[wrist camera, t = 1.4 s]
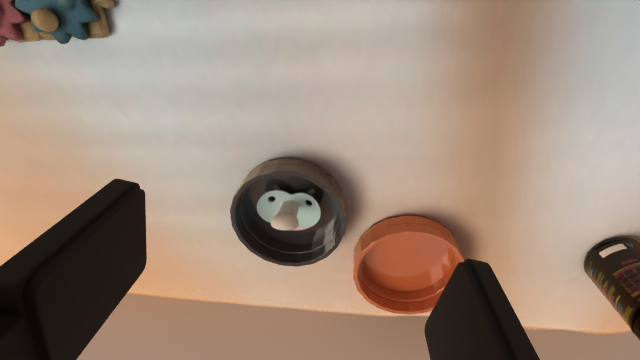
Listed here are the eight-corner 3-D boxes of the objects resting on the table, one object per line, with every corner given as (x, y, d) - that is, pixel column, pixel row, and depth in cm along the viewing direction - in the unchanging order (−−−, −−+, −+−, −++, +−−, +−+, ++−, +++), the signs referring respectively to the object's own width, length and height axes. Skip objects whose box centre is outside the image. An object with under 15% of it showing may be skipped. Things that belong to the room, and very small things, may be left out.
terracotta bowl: (451, 204, 40) (459, 222, 37) (463, 285, 46) (471, 306, 43) (342, 225, 43) (341, 243, 40) (367, 299, 48) (367, 319, 45)
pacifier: (320, 229, 43) (323, 188, 40) (315, 265, 38) (317, 221, 35) (262, 223, 44) (261, 182, 41) (249, 258, 38) (246, 214, 35)
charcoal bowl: (328, 145, 38) (325, 158, 35) (357, 237, 44) (357, 256, 41) (222, 170, 41) (211, 185, 38) (262, 255, 46) (256, 273, 43)
